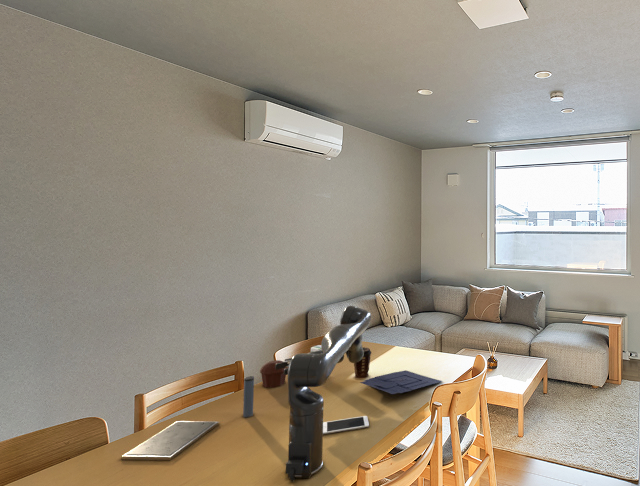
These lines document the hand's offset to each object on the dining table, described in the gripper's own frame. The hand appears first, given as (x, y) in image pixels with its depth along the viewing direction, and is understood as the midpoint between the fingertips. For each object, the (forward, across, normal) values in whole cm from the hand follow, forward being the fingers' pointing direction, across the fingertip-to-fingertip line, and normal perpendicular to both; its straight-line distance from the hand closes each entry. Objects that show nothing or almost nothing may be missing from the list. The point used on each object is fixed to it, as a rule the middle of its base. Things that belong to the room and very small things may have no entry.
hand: (279, 369), depth 156 cm
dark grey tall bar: (+11, 0, +14) cm, 18 cm away
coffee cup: (-39, -3, +15) cm, 42 cm away
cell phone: (-9, +34, +14) cm, 38 cm away
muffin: (-7, -24, +15) cm, 29 cm away
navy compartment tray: (-45, +20, +15) cm, 51 cm away
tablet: (+34, +2, +14) cm, 37 cm away
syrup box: (-24, -17, +15) cm, 33 cm away
